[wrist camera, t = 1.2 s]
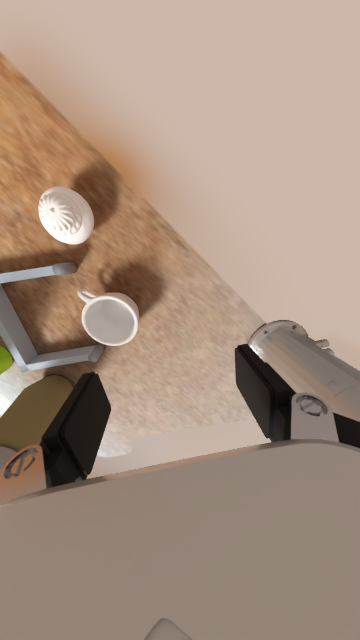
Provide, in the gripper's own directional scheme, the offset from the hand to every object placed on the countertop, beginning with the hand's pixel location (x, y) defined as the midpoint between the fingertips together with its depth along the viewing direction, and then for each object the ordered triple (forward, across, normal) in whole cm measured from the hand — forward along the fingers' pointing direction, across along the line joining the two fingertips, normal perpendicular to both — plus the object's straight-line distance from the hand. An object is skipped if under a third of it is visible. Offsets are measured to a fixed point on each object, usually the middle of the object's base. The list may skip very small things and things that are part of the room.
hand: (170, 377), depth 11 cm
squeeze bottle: (+21, +24, +14) cm, 34 cm away
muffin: (+21, +10, -13) cm, 26 cm away
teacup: (+21, +9, 0) cm, 22 cm away
